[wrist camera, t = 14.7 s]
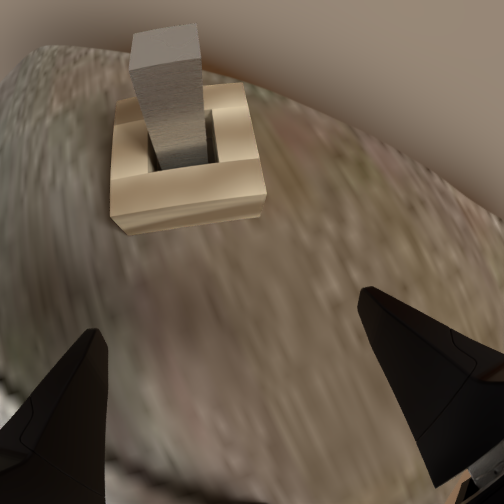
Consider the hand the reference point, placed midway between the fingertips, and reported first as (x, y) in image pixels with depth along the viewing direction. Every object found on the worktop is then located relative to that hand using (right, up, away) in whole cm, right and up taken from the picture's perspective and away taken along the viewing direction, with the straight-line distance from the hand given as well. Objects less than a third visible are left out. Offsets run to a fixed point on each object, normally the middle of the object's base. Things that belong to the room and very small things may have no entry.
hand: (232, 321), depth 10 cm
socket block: (-5, +10, +16) cm, 19 cm away
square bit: (-5, +10, +16) cm, 19 cm away
